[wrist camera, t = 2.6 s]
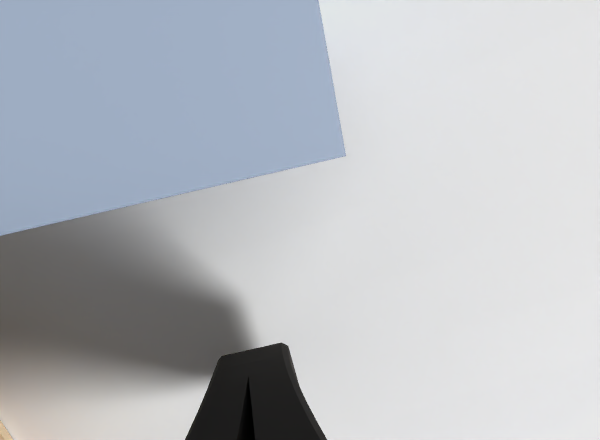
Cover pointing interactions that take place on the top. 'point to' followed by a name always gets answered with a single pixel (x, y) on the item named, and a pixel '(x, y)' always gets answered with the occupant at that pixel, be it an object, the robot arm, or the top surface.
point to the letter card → (4, 433)
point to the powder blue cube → (155, 100)
